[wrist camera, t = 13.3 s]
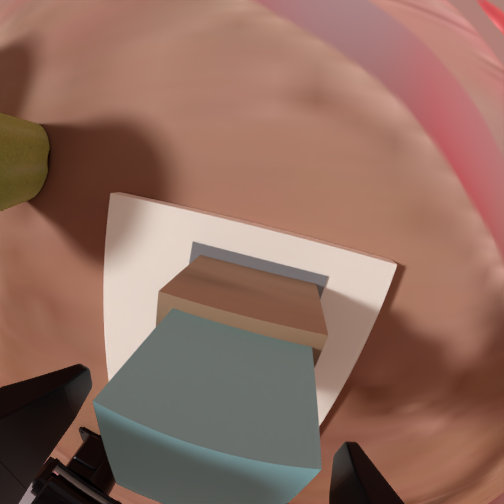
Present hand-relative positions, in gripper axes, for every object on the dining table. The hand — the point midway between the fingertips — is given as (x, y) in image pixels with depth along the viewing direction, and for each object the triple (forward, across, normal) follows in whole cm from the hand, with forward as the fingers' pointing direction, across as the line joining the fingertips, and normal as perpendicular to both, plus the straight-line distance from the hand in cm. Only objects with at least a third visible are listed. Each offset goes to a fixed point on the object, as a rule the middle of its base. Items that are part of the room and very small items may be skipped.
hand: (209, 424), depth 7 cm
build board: (+9, +1, +4) cm, 10 cm away
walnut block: (+8, 0, 0) cm, 8 cm away
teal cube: (+2, 0, 0) cm, 3 cm away
